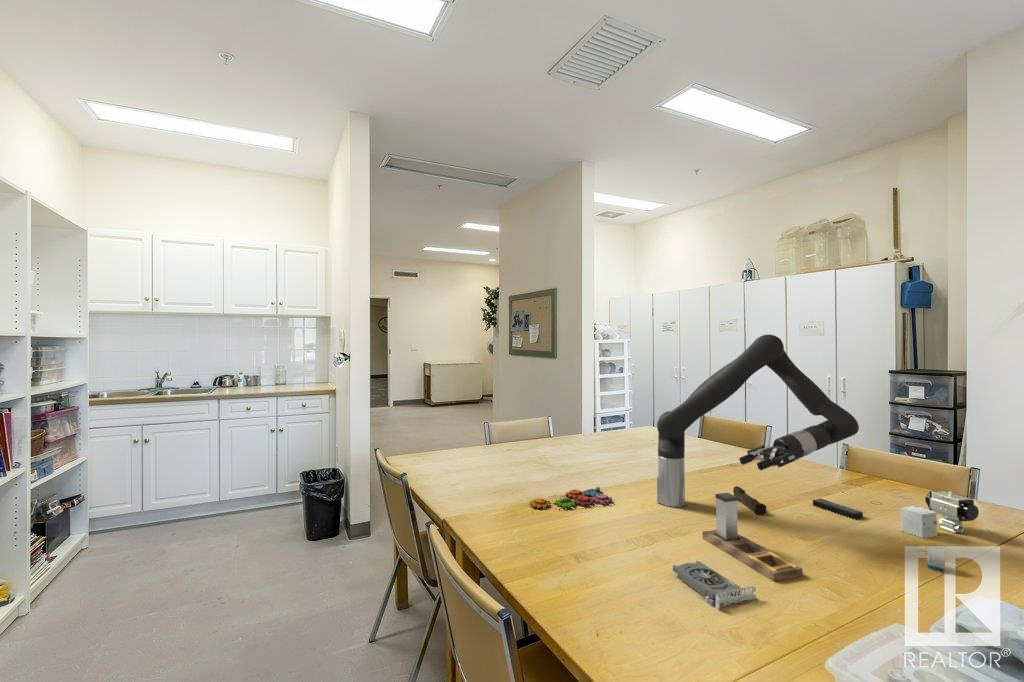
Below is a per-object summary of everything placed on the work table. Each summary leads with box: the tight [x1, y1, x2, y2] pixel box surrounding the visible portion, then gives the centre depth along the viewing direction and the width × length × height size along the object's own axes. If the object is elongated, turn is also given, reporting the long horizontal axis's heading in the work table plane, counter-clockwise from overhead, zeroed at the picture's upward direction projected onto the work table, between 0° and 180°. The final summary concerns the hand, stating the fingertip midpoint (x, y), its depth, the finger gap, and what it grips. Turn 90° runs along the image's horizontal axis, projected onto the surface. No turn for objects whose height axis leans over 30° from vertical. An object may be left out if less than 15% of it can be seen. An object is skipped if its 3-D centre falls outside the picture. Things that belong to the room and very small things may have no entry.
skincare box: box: [900, 505, 938, 539], centre depth 139 cm, size 6×6×7 cm
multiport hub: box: [812, 498, 864, 520], centre depth 158 cm, size 4×14×2 cm, turn 20°
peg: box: [714, 492, 739, 541], centre depth 134 cm, size 4×4×14 cm
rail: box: [702, 529, 804, 582], centre depth 126 cm, size 26×9×2 cm, turn 16°
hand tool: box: [733, 485, 767, 516], centre depth 165 cm, size 19×4×5 cm, turn 177°
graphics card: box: [672, 560, 757, 611], centre depth 110 cm, size 17×4×12 cm
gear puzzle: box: [528, 486, 615, 509], centre depth 170 cm, size 31×16×4 cm, turn 105°
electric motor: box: [918, 546, 946, 571], centre depth 119 cm, size 7×5×5 cm
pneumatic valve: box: [924, 490, 980, 534], centre depth 141 cm, size 6×12×12 cm, turn 9°
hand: (749, 464), depth 138 cm, fingers open, 8 cm apart
